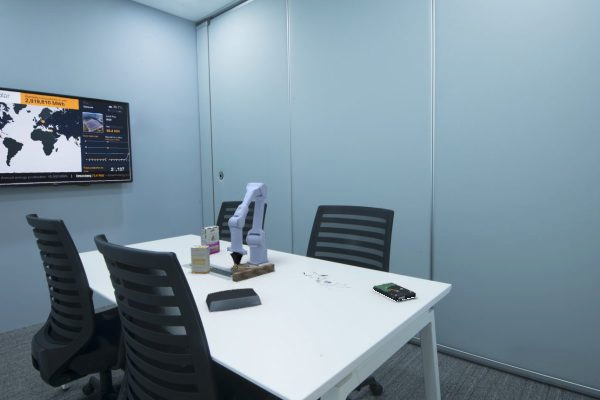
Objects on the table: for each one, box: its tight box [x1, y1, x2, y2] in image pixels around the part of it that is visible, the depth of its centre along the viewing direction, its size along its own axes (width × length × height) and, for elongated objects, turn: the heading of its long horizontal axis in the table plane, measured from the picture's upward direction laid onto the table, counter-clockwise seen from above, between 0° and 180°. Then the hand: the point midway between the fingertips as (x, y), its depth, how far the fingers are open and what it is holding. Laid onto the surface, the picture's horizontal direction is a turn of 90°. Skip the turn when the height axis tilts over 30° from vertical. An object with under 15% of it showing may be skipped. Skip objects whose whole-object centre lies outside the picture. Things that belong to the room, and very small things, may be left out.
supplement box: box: [190, 245, 211, 274], centre depth 179 cm, size 8×5×13 cm, turn 84°
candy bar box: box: [200, 225, 221, 255], centre depth 220 cm, size 11×5×16 cm, turn 147°
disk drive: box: [372, 282, 417, 301], centre depth 146 cm, size 10×3×15 cm
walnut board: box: [231, 263, 276, 283], centre depth 173 cm, size 24×2×4 cm, turn 137°
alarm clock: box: [230, 262, 260, 273], centre depth 178 cm, size 11×5×15 cm
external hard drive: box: [205, 287, 262, 313], centre depth 137 cm, size 13×19×4 cm
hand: (237, 266), depth 182 cm, fingers closed
